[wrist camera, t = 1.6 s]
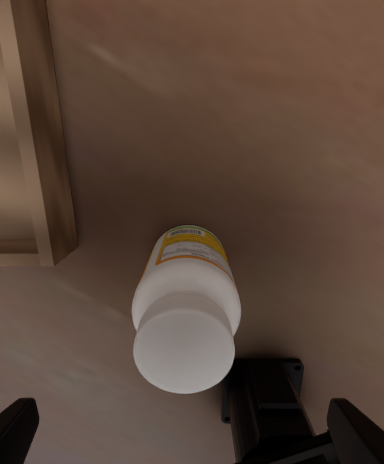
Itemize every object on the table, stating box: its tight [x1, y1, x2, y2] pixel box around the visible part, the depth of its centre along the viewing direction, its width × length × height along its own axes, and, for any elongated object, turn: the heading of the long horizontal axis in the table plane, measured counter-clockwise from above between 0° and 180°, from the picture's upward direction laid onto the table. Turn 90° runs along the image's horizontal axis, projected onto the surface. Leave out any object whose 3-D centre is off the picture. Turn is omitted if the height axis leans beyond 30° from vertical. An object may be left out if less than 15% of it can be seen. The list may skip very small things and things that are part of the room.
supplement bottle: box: [132, 225, 241, 394], centre depth 15 cm, size 5×5×10 cm
